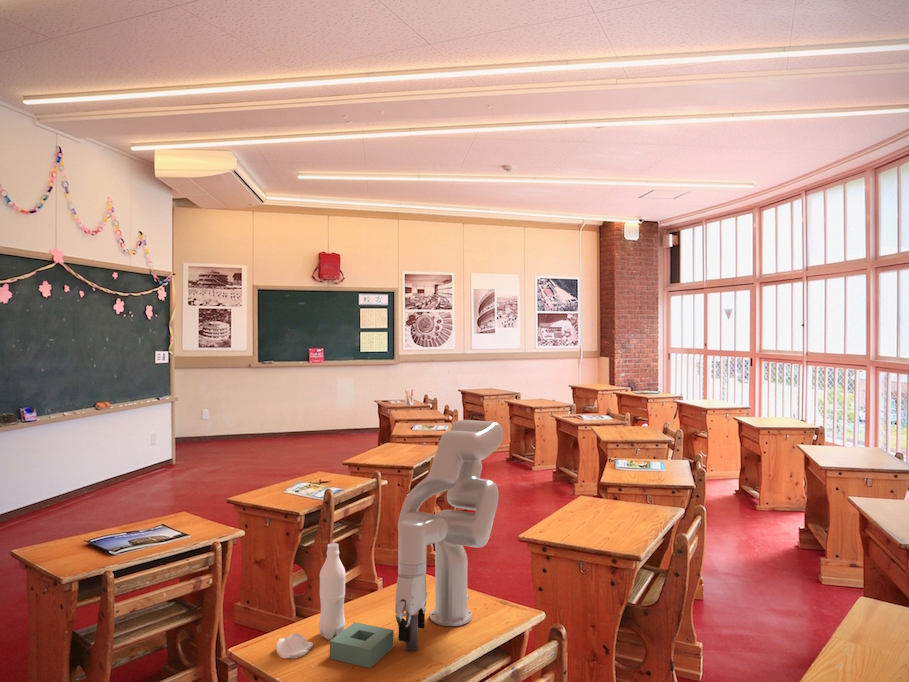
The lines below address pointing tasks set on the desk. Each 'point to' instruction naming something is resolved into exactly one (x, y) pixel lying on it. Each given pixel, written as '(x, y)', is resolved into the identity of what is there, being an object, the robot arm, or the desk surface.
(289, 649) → the rose
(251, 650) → the desk surface
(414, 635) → the round peg
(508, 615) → the desk surface
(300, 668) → the desk surface
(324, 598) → the water bottle
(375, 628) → the socket block
